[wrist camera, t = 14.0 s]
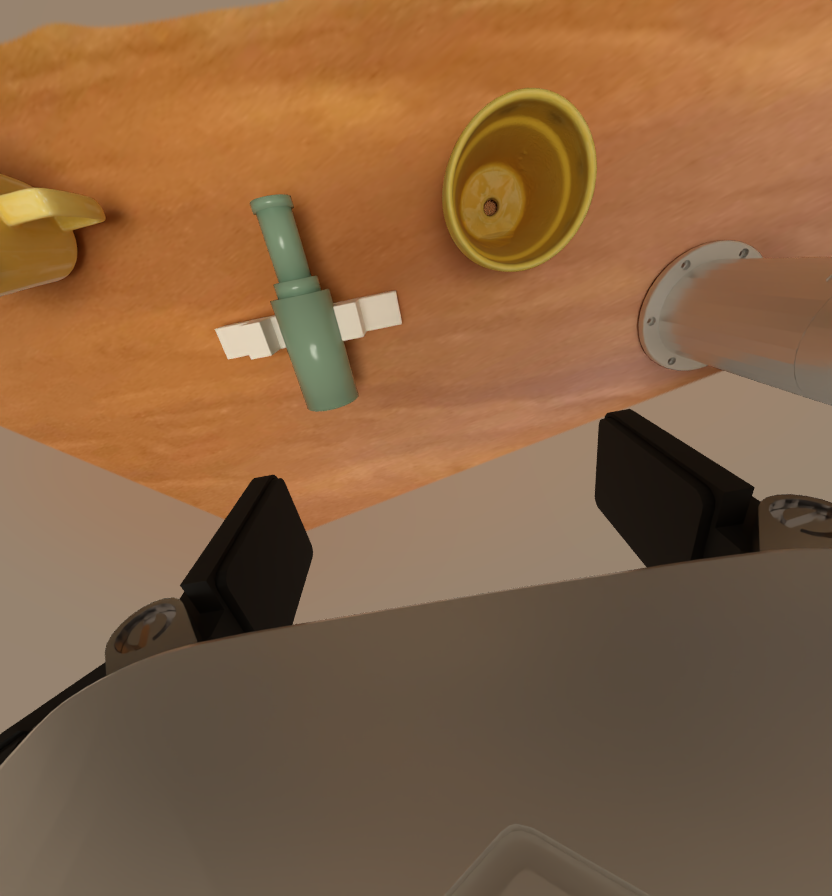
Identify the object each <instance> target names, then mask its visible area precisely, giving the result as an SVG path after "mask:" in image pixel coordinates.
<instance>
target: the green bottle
mask: <svg viewBox="0 0 832 896" xmlns="http://www.w3.org/2000/svg"><path fill="white" fill-rule="evenodd" d="M250 206H251V209H252V212H253V214H254V215H257V218H258V221H259V224H260V227H261V230H262V233H263V236H264V239H265V242H266V245H267V248H268V251H269V254H270V257H271V260H272V263H273V266H274V269H275V272H276V275H277V278H278V282H279V283H278V284H274V285H273V286H274V288H275V291H276V294H277V297H278V299H277V300H273V301H270V303H271V305H272V308H273V311H274V314H275V317H276V320H277V322H278V325H279V328H280V331H281V334H282V337H283V340H284V342H285V345H286V348H287V351H288V354H289V357H290V360H291V362H292V365H293V368H294V371H295V374H296V377H297V379H298V382H299V385H300V388H301V391H302V394H303V397H304V399H305V402H306V405H307V408H308V409H309V410H310V411H327V410H332V409H336V408H339V407H342V406H345V405H347V404H349V403H351V402H353V401H354V400H355V399H357V397H358V391H357V388H356V384H355V380H354V377H353V373H352V369H351V366H350V362H349V358H348V355H347V351H346V348H345V344H344V341H342V337H341V334H340V330H339V327H338V323H337V319H336V316H335V312H334V308H333V307H334V304H333V300H332V297H331V293H330V289H323V290H321V287H320V283H319V280H318V276H311V273H310V270H309V266H308V263H307V259H306V256H305V252H304V249H303V246H302V242H301V239H300V235H299V232H298V228H297V225H296V222H295V218H294V215H293V211H292V209H293V208H294V206H293V202H292V199H291V196H290V195H270V196H265V197H261V198H257V199H254V200H252V201H251V202H250Z"/></svg>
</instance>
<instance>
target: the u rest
mask: <svg viewBox="0 0 832 896" xmlns="http://www.w3.org/2000/svg"><path fill="white" fill-rule="evenodd" d="M333 304H334V307H333V308H334V312H335V316H336V319H337V323H338V327H339V330H340V334H341V337H342V341H345V340H350V339H355V338H360V337H364V335H365V333H366V331H370V330H375V329H380V328H385V327H390V326H395V325H400V324H402V319H401V314H400V309H399V304H398V299H397V294H396V290H394V291H389V292H384V293H379V294H375V295H370V296H365V297H360V298H355V299H351V300H346V301H341V302H336V303H333ZM215 330H216V333H217V335H218V337H219V340H220V342H221V344H222V347H223V349H224V351H225V354H226V356H227V358H228V359H232V358H237V357H242V356H247V355H249V356H250V358H251V359H256V358H261V357H266V356H271V355H273V354H274V353H276V352H277V351H278V350H280V349H282V348H286V345H285V342H284V340H283V337H282V334H281V331H280V328H279V325H278V322H277V320H276V317H275V315H274V316H269V317H264V318H259V319H254V320H250V321H245V322H240V323H235V324H230V325H226V326H222V327H220V328H217V329H215Z"/></svg>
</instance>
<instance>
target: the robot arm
mask: <svg viewBox="0 0 832 896" xmlns="http://www.w3.org/2000/svg"><path fill="white" fill-rule="evenodd" d="M638 328H639V338H640V342H641V345H642V347H643V349H644V351H645V353H646V354H647V355H648V356H649V357H650V359H651V360H652V361H654V362H656V363H657V364H659V365H661V366H663V367H666V368H668V369H673V370H678V371H689V370H694V369H700V368H702V367H705V366H708V365H709V366H712V367H715V368H718V369H721V370H724V371H727V372H730V373H733V374H736V375H739V376H742V377H746V378H748V379H751V380H754V381H757V382H760V383H763V384H767V385H770V386H773V387H776V388H779V389H782V390H785V391H788V392H791V393H794V394H797V395H800V396H803V397H806V398H809V399H812V400H815V401H819V402H822V403H825V404H828V405H831V406H832V257H800V258H763V257H762V255H761V254H760V252H758V251H757V250H756V249H755V248H753V247H752V246H751V245H748V244H746V243H743V242H740V241H732V240H726V241H715V242H710V243H705V244H702V245H700V246H697V247H695V248H692V249H690V250H689V251H687V252H686V253H684V254H682V255H681V256H679V257H678V258H677V259H675V260H674V261H673V262H672V263H671V264H669V265H668V266H667V267H666V268H665V270H664V271H663V272H662V273H661V274H660V275H659V276H658V277H657V279H656V280H655V282H654V283H653V285H652V286H651V288H650V289H649V291H648V293H647V295H646V297H645V299H644V302H643V305H642V308H641V311H640V317H639V324H638ZM753 490H754V487H753V486H752V485H750V484H749V483H747V482H745V481H744V480H742V479H741V478H739V477H737V476H736V475H734V474H733V473H731V472H729V471H728V470H726V469H725V468H723V467H722V466H720V465H718V464H717V463H715V462H714V461H712V460H710V459H709V458H707V457H706V456H704V455H703V454H701V453H699V452H698V451H696V450H695V449H693V448H692V447H690V446H688V445H687V444H685V443H684V442H682V441H680V440H679V439H677V438H675V437H674V436H672V435H671V434H669V433H668V432H666V431H665V430H663V429H661V428H659V427H658V426H657V425H655V424H653V423H652V422H650V421H649V420H647V419H645V418H644V417H642V416H641V415H639V414H638V413H636V412H634V411H633V410H631V409H626V410H621V411H616V412H610V413H607V414H606V416H605V418H604V419H601V420H600V422H599V432H598V449H597V466H596V484H595V501H596V504H597V506H598V508H599V509H600V510H601V512H602V513H603V514H604V515H605V517H606V518H607V519H608V520H609V521H610V523H611V524H612V525H613V526H614V528H615V529H616V530H617V531H618V533H619V534H620V535H621V536H622V537H623V539H624V540H625V541H626V542H627V544H628V545H629V546H630V547H631V549H632V550H633V551H634V552H635V554H637V556H638V557H639V559H640V560H641V561H642V562H643V563H644V565H645V566H646V567H647V568H640V569H634V570H628V571H621V572H615V573H608V574H602V575H596V576H589V577H584V578H577V579H570V580H564V581H557V582H551V583H544V584H538V585H531V586H525V587H519V588H513V589H507V590H501V591H494V592H488V593H482V594H476V595H470V596H464V597H457V598H451V599H445V600H439V601H433V602H427V603H420V604H414V605H409V606H402V607H397V608H390V609H385V610H378V611H372V612H366V613H360V614H354V615H348V616H343V617H337V618H331V619H325V620H319V621H313V622H307V623H301V624H295V625H292V624H293V621H294V617H295V614H296V610H297V607H298V604H299V601H300V597H301V593H302V590H303V587H304V584H305V581H306V577H307V574H308V571H309V567H310V564H311V560H312V557H313V549H312V545H311V543H310V540H309V538H308V536H307V533H306V531H305V528H304V526H303V524H302V521H301V519H300V517H299V514H298V512H297V510H296V507H295V505H294V503H293V500H292V498H291V496H290V493H289V491H288V489H287V486H286V484H285V482H284V480H283V479H282V478H279V479H278V478H277V477H276V476H275V475H269V476H263V477H258V478H254V479H253V480H252V481H251V482H250V484H249V485H248V487H247V488H246V490H245V491H244V493H243V494H242V496H241V497H240V498H239V500H238V501H237V503H236V504H235V506H234V507H233V509H232V510H231V512H230V513H229V515H228V516H227V517H226V519H225V520H224V522H223V523H222V525H221V526H220V528H219V529H218V531H217V532H216V534H215V535H214V536H213V538H212V539H211V541H210V542H209V544H208V545H207V547H206V548H205V550H204V551H203V553H202V554H201V555H200V557H199V559H198V560H197V561H196V563H195V564H194V566H193V567H192V569H191V570H190V571H189V573H188V575H187V576H186V577H185V579H184V580H183V582H182V583H181V585H180V586H181V587H182V589H183V590H184V593H183V595H182V596H181V598H180V599H177V598H164V599H161V600H158V601H155V602H152V603H150V604H148V605H146V606H144V607H142V608H141V609H139V610H138V611H137V612H135V613H134V614H132V615H131V616H129V617H128V618H127V619H126V620H125V621H124V622H123V623H122V624H121V625H120V626H119V627H118V628H117V629H116V630H115V631H114V633H113V634H112V635H111V637H110V639H109V641H108V642H107V645H106V649H105V663H104V664H102V665H101V666H99V667H98V668H96V669H95V670H93V671H92V672H90V673H89V674H87V675H86V676H84V677H83V678H82V679H80V680H79V681H77V682H76V683H74V684H73V685H71V686H70V687H68V688H67V689H65V690H64V691H62V692H61V693H60V694H58V695H57V696H55V697H54V698H52V699H51V700H49V701H48V702H46V703H45V704H43V705H42V706H41V707H39V708H38V709H36V710H35V711H33V712H32V713H31V714H29V715H27V716H26V717H25V718H23V719H22V720H20V721H19V722H17V723H16V724H14V725H13V726H11V727H10V728H9V729H7V730H6V731H4V732H3V733H2V734H0V896H832V503H831V502H828V501H825V500H823V499H818V498H814V497H809V496H802V495H793V494H782V495H774V496H770V497H766V498H765V499H763V500H762V501H761V502H760V501H759V500H757V499H756V498H754V497H753V496H752V494H753Z"/></svg>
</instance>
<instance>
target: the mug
mask: <svg viewBox="0 0 832 896" xmlns="http://www.w3.org/2000/svg"><path fill="white" fill-rule="evenodd" d="M105 219H106V218H105V214H104V211H103V209H102V208H101V206H100V205H99V203H98V202H97V201H96V200H95V199H93V198H90V197H87V196H84V195H80V194H76V193H70V192H66V191H60V190H54V189H48V188H34V187H32V186H30V185H28V184H26V183H24V182H22V181H20V180H17V179H14V178H12V177H9V176H6V175H3V174H0V296H4V295H7V294H11V293H14V292H18V291H21V290H25V289H29V288H32V287H36V286H40V285H43V284H48V283H52V282H56V281H59V280H61V279H63V278H65V277H66V276H68V275H69V273H70V272H71V271H72V270H73V268H74V266H75V263H76V261H77V244H76V239H75V236H74V233H73V231H72V230H75V229H79V228H82V227H86V226H90V225H94V224H97V223H101V222H103V221H105Z"/></svg>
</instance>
